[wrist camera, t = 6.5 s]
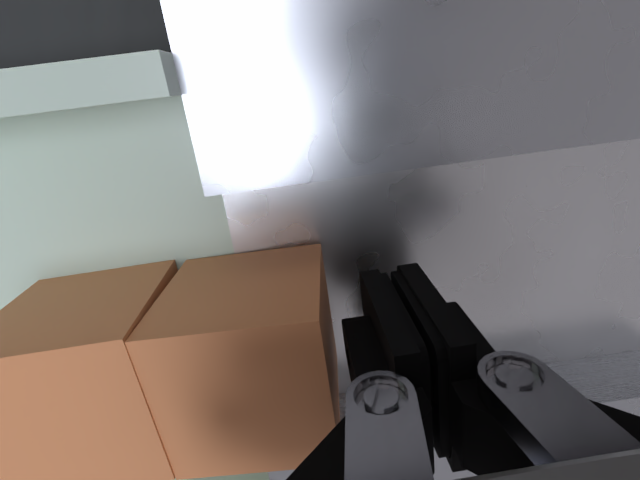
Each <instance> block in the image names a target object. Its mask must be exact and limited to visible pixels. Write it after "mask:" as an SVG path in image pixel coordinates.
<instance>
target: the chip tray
mask: <svg viewBox="0 0 640 480" xmlns="http://www.w3.org/2000/svg"><path fill="white" fill-rule="evenodd" d="M230 254H235V253H234V249H233V244H232V239H231V234H230V230H229V225H228V220H227V216H226V211H225V206H224V201H223V197H222V195H215V196H208V197H205V196H204V191H203V187H202V183H201V178H200V174H199V170H198V165H197V161H196V157H195V152H194V148H193V143H192V139H191V135H190V130H189V126H188V122H187V117H186V113H185V109H184V104H183V100H182V95H181V91H180V87H179V82H178V78H177V74H176V69H175V65H174V60H173V56H172V53H170V52H166V51H162V50H151V51H143V52H135V53H126V54H118V55H110V56H102V57H94V58H86V59H78V60H70V61H62V62H54V63H46V64H38V65H30V66H21V67H13V68H5V69H0V310H1V309H2V308H4V307H5V306H6V305H7V304H9V303H10V302H11V301H12V300H14V299H15V298H16V297H18V296H19V295H20V294H21V293H23V292H24V291H25V290H27V289H28V288H29V287H30V286H32V285H33V284H34V283H35V282H37V281H38V280H42V279H49V278H55V277H62V276H69V275H75V274H82V273H88V272H95V271H102V270H108V269H115V268H122V267H128V266H135V265H141V264H148V263H155V262H161V261H168V260H174V259H175V262H176V266H177V269H178V270H179V269H180V267H181V266H182V265H183V263H184V262H185V261H186V260H188V259H197V258H205V257H213V256H222V255H230ZM174 480H176V478H175V479H174ZM181 480H269V475H268V472H261V473H249V474H238V475H227V476H215V477H204V478H192V479H181Z"/></svg>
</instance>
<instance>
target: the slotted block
mask: <svg viewBox="0 0 640 480" xmlns="http://www.w3.org/2000/svg"><path fill="white" fill-rule="evenodd" d="M160 4H161V8H162V12H163V17H164V21H165V26H166V30H167V34H168V39H169V43H170V47H171V52H172V56H173V60H174V65H175V69H176V74H177V78H178V82H179V87H180V91H181V95H182V100H183V104H184V109H185V113H186V117H187V122H188V126H189V130H190V135H191V139H192V143H193V148H194V152H195V157H196V161H197V165H198V170H199V174H200V178H201V183H202V187H203V191H204V196H205V197H208V196H215V195H222V197H223V201H224V206H225V211H226V216H227V220H228V225H229V230H230V234H231V239H232V244H233V249H234V253H235V254H238V253H246V252H255V251H263V250H271V249H280V248H288V247H296V246H304V245H313V244H321V249H322V255H323V262H324V269H325V276H326V283H327V290H328V297H329V304H330V310H331V317H332V324H333V331H334V338H335V345H336V352H337V364H338V387H339V409H340V421H341V420H342V419H343V418H344V417H345V409H346V392H347V388H348V387H349V385H350V384H351V379H350V374H349V369H348V364H347V358H346V352H345V345H344V338H343V330H342V321H341V320H342V319H345V318H352V317H358V316H363V307H362V297H361V288H360V278H359V271H365V270H372V269H379V270H380V272H381V273H385V272H387V274H388V276H389V278H390V280H391V271H397V266H398V265H404V264H411V263H418V265H419V266H420V267H421V269H422V270H423V271H424V273H425V274H426V275H427V277H428V278H429V279H430V281H431V282H432V283H433V285H434V286H435V288H436V289H437V290H438V292H439V293H440V294H441V296H442V297H443V298H444V300H445V301H446V302H456V303H458V304H459V306H460V307H461V308H462V309H463V311H464V312H465V313H466V314H467V316H468V317H469V318H470V320H471V321H472V322H473V323H474V325H475V326H476V327H477V328H478V330H479V331H480V332H481V333H482V335H483V336H484V337H485V339H486V340H487V341H488V342H489V344H490V345H491V346H492V347H493V349H494V350H495V351H496V352H497V351H516V352H521V353H525V354H528V355H530V356H533V357H535V358H537V359H539V360H540V361H542V362H543V363H545V364H546V365H547V366H548V367H550V368H551V369H552V370H553V371H554V372H556V373H557V374H558V375H559V376H560V377H562V378H563V379H564V380H565V381H566V382H568V383H569V384H570V385H571V386H572V387H574V388H575V389H576V390H577V391H579V392H580V393H581V394H582V395H583V396H585V397H586V398H587V399H589V400H592V401H595V402H598V403H601V404H604V405H607V406H610V407H613V408H616V409H619V410H622V411H625V412H628V413H631V414H634V415H637V416H640V0H160ZM434 467H435V473H434V475H433V477H434V480H455V479H460V478H466V477H472V476H476V474H474V473H472V472H470V471H468V470H464V471H458V472H452V470H451V468H450V465H449V463H448V461H447V458H446V457H443V458H439V457H438V456H437V453H436V451H435V449H434ZM293 471H294V470H284V471H272V472H268V475H269V480H286V479H287V478H288V477H289V476H290V475H291V473H292V472H293Z"/></svg>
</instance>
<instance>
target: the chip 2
mask: <svg viewBox="0 0 640 480" xmlns="http://www.w3.org/2000/svg"><path fill="white" fill-rule="evenodd" d="M125 345H126V347H127V350H128V353H129V355H130V358H131V361H132V363H133V366H134V369H135V371H136V374H137V377H138V379H139V382H140V384H141V387H142V390H143V392H144V395H145V398H146V400H147V403H148V406H149V408H150V411H151V414H152V416H153V419H154V422H155V424H156V427H157V430H158V432H159V435H160V437H161V440H162V443H163V445H164V448H165V451H166V453H167V456H168V459H169V461H170V464H171V467H172V469H173V472H174V475H175V478H176V480H181V479H192V478H204V477H215V476H227V475H238V474H249V473H261V472H272V471H284V470H295V469H296V468H297V467H298V466H299V465H300V464H301V463H302V462H303V461H304V459H305V458H306V457H307V456H308V455H309V454H310V453H311V452H312V451H313V450H314V449H315V448H316V447H317V446H318V444H319V443H320V442H321V441H322V440H323V439H324V438H325V437H326V436H327V435H328V434H329V433H330V432H331V430H332V429H333V428H334V427H335V426H336V425H337V424H338V423H339V422H340V409H339V387H338V364H337V352H336V345H335V338H334V331H333V324H332V317H331V310H330V304H329V297H328V290H327V283H326V276H325V269H324V262H323V255H322V249H321V244H313V245H304V246H296V247H288V248H280V249H271V250H263V251H255V252H246V253H238V254H230V255H222V256H213V257H205V258H197V259H188V260H186V261H185V262H184V263H183V265H182V266H181V267H180V269H179V270H178V271H177V273H176V274H175V275H174V277H173V278H172V279H171V281H170V282H169V283H168V285H167V286H166V287H165V289H164V290H163V291H162V293H161V294H160V295H159V297H158V298H157V299H156V301H155V302H154V303H153V305H152V306H151V308H150V309H149V310H148V312H147V313H146V314H145V316H144V317H143V318H142V320H141V321H140V322H139V324H138V325H137V326H136V328H135V329H134V330H133V332H132V333H131V334H130V336H129V337H128V338H127V340H126V341H125Z"/></svg>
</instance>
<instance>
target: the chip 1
mask: <svg viewBox="0 0 640 480" xmlns="http://www.w3.org/2000/svg"><path fill="white" fill-rule="evenodd" d="M177 271H178V269H177V266H176V262H175V259H174V260H168V261H161V262H155V263H148V264H141V265H135V266H128V267H122V268H115V269H108V270H102V271H95V272H88V273H82V274H75V275H69V276H62V277H55V278H49V279H42V280H38V281H37V282H35V283H34V284H33V285H32V286H30V287H29V288H28V289H27V290H25V291H24V292H23V293H21V294H20V295H19V296H18V297H16V298H15V299H14V300H12V301H11V302H10V303H9V304H7V305H6V306H5V307H4V308H2V309H1V310H0V480H174V479H175V475H174V472H173V469H172V467H171V464H170V461H169V459H168V456H167V453H166V451H165V448H164V445H163V443H162V440H161V437H160V435H159V432H158V430H157V427H156V424H155V422H154V419H153V416H152V414H151V411H150V408H149V406H148V403H147V400H146V398H145V395H144V392H143V390H142V387H141V384H140V382H139V379H138V377H137V374H136V371H135V369H134V366H133V363H132V361H131V358H130V355H129V353H128V350H127V347H126V345H125V341H126V340H127V338H128V337H129V336H130V334H131V333H132V332H133V330H134V329H135V328H136V326H137V325H138V324H139V322H140V321H141V320H142V318H143V317H144V316H145V314H146V313H147V312H148V310H149V309H150V308H151V306H152V305H153V303H154V302H155V301H156V299H157V298H158V297H159V295H160V294H161V293H162V291H163V290H164V289H165V287H166V286H167V285H168V283H169V282H170V281H171V279H172V278H173V277H174V275H175V274H176V273H177Z"/></svg>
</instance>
